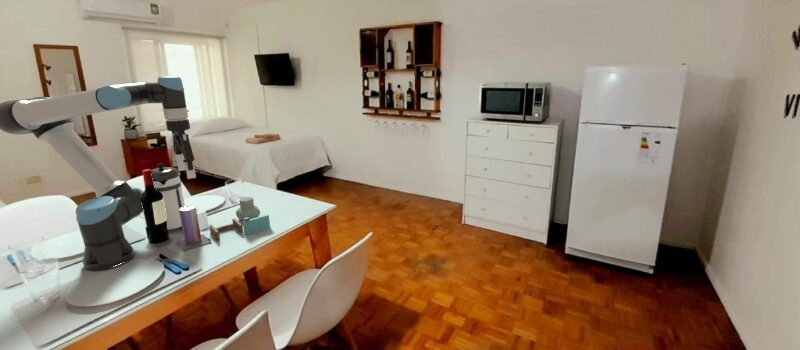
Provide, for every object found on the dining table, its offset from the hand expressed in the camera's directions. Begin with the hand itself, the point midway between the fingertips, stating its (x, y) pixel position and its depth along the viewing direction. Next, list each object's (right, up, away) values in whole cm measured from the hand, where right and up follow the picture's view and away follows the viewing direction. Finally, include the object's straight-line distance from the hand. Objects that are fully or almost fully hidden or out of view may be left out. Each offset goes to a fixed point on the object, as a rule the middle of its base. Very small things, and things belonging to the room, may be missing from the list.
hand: (187, 174), depth 144 cm
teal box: (+20, -25, +19) cm, 37 cm away
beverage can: (-2, -28, +8) cm, 29 cm away
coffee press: (-20, -24, +22) cm, 38 cm away
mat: (-2, -28, +8) cm, 29 cm away
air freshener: (+11, -21, +31) cm, 39 cm away
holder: (+8, -26, +16) cm, 31 cm away
